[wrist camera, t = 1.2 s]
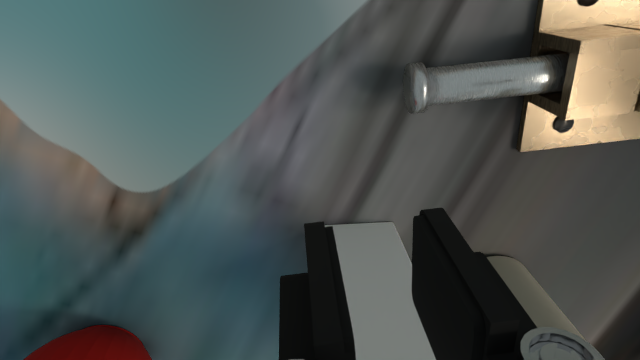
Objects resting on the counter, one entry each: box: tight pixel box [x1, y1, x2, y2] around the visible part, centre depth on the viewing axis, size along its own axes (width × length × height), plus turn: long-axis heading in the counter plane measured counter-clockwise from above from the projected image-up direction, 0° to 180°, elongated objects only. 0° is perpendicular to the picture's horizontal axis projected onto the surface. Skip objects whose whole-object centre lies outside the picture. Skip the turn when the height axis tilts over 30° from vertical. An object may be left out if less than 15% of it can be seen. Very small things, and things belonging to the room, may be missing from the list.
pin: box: [403, 53, 570, 114], centre depth 26 cm, size 16×3×3 cm, turn 95°
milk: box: [325, 222, 436, 360], centre depth 25 cm, size 6×6×22 cm
